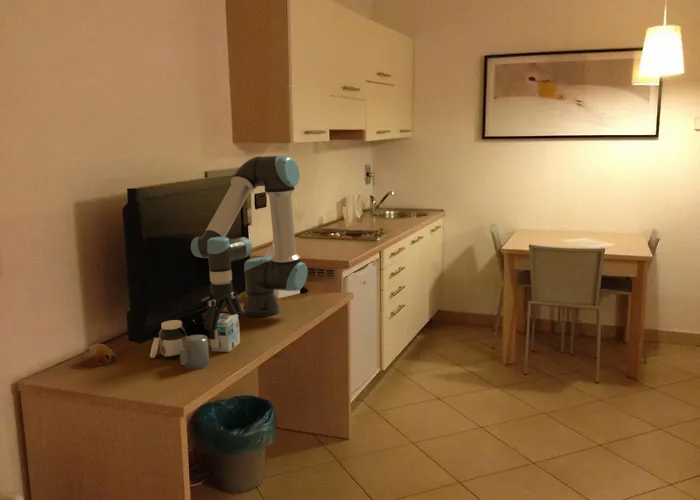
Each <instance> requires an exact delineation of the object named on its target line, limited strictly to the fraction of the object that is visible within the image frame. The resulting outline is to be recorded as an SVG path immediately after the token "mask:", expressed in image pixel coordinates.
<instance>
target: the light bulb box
mask: <svg viewBox="0 0 700 500" xmlns="http://www.w3.org/2000/svg"><path fill="white" fill-rule="evenodd" d="M239 324H240V320H239V321H238V314H230V313H220V316H219V319H218V322H217V326H216V329H217V333H218V346H219V348H211V351H212V352H221V353H222V352H223V353H225V352H226V353H229V352H230V351H232V350H234V349H235V348H236V347H237V346H238V345H239V344H241V335H240V336H239V331H240V327H239ZM212 327H213V325H212Z"/></svg>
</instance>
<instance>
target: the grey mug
mask: <svg viewBox="0 0 700 500" xmlns="http://www.w3.org/2000/svg"><path fill="white" fill-rule="evenodd" d="M208 339H209V338H208V336H207V335H205V334H191V335H187V337H185V338H183V339H182V344H183V348H181V349H179V350H180V358H179V360H180V365H183V366H184V367H183V368H185V369H187V370H200V369H205V368H207V367H209V366H210V355H209V343H208V341H209V340H208Z"/></svg>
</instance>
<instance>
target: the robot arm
mask: <svg viewBox="0 0 700 500" xmlns="http://www.w3.org/2000/svg"><path fill="white" fill-rule="evenodd" d="M299 182H300V169H299V165H298V163H297V162H296V161H295V160H294V159H293V158H292V157H291V156H285V155H269V156H260V155H259V156H253V157H251V158H250V159H248V160H247V161H245V162H244V163H242V165H241V166H239V168H238V169H237V170H236V171H235V173H234V174H233V176H232V178H231V180H230V184H231V185H230V186H229V188H228V189H227V192H226V193H225V195H224V197H223V199H222V201H221V202H220V204H219V206H218V207H217V209H216V212H215V213H214V215H213V217H212V218H211V220H210V222H209V223H208V226H207V227H206V229H205V231H204V232H203V235H202V236H197V237H194V238H193V239H192V240H191V244H190V251H191V254H192V255H193V256H195V257H196V258H202V259H208V267H209V268H208V271H209V281H210V282H211V283H210V294H211V295H212V296H213V298H212V299H211V300H209V299H208V300H207V301H206V306H207V307H206V313H205V319H204V325H203V329H204V330H207V331H208V335H209V336H208V337H209V338H208V339H209V340H210V348H211V349H212V348H219V346H218V333H217V329H216V326H217V322H218V319H219V316H220V314H222V312H223V310H224V309H227V311H228V314H238V321H239V322H240V320H242V319H243V317H242V316H243V315H244V316H246V317H253V318H261V317H269V316H273V315H277V314H279V313H280V311H281V309H280V304H279V301H278V298H276V296H275V294H274V289H275V290H286V291H298V290H300V291H301V289H302V288H303V287H304V285H305V283H306V281H307V277H308V267H307V265H306V263H305V262H301V261H302V260H301V255H300V254H298V253H297V247H296V238H295V237H296V236H295V235H296V234H295V224H294V212H293V200H292V193H293V192H294V191H295V187H296V186H297V185H298V183H299ZM258 187H264V192H265V194H267V196H269V198H268V199H269V206H270V218H271V220H270V221H271V227H272V241H274V251H275V255H274V256H273V257H271V256H265V255H264V256H258V257H254V258H249V259H247V260H246V261H244V264H243V266H244V270H243V272H244V282H245V293H246V294H245V299H244V303H243V305H242V307H241V303H240V301H239V298H238V292H237V291H234V286H233V282H232V281H233V271H232V262H234V261H235V262H236V261H239V260H244V259H245V258H247V257H249V256H250V255H251V254H252V251H253V244H252V242H251V241H250V239H249V238H247V237H245V236H242V237H236V238H230V237H227V235H228V233H229V231H230V229H231V227H232V226H233V223H234V222H235V220H236V219H237V217H238V215H239V213H240V211H241V209H242V207H243V206H244V204H245V202H246V200H247V198H248V197H249V195H250V194H252V193H254V191H255V189H256V188H258ZM212 325H213V327H212ZM240 326H241V325H240V323H239V328H240ZM240 334H241V333H240V330H239V336H240V337H241V335H240Z"/></svg>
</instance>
